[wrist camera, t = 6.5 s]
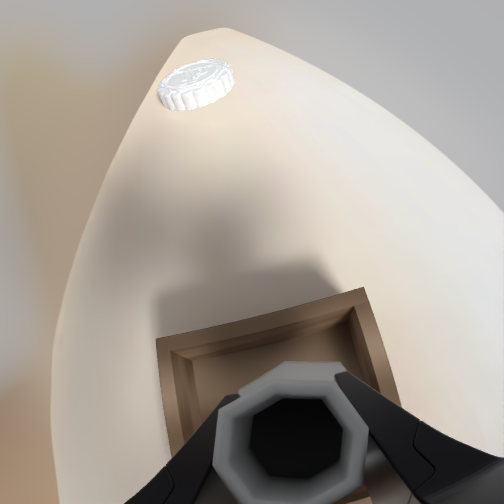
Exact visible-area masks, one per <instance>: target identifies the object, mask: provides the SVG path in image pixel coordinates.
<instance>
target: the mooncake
mask: <svg viewBox="0 0 504 504" xmlns="http://www.w3.org/2000/svg"><path fill="white" fill-rule="evenodd" d="M234 84H235V81H234V75H233V72H232V68H231V65H230V64H228V63H227V62H226V61H221V60H220V59H208V60H206V59H203V60H200V61H197V62H194V63H190V64H186V65H183V66H181V67H180V68H178V69H175V70H173V71H172V72H171V73H170V74H169V75H168V76H166V77H165V78H164V79H163V80H162V81H161V82H160V83H159V87H158V89H157V91H158V93H159V96H160V98H161V100H162V102H163V104H164V107H165V108H169V109H170V110H172V111H173V110H177V111H183V110H193V109H195V108H197V107H204V106H206V105H207V104H208V103H213V102H215V101H217V100H218V99H219V98H221V97H224V96H225V95H226V94H227V92H229V91H230V90H232V86H233V85H234Z"/></svg>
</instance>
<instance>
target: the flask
mask: <svg viewBox="0 0 504 504" xmlns="http://www.w3.org/2000/svg"><path fill="white" fill-rule="evenodd" d="M343 371H347V370H346V369H345V368H344V366H343V365H342V363H341V362H308V361H284V362H282V363H281V364H279V365H278V366H276V367H275V368H273V369H271V370H270V371H268V372H267V373H265V374H263V375H262V376H260V377H258V378H257V379H255V380H254V381H252V382H250V383H249V384H247V385H245V386H243V387H242V388H240V389H238V394H239V395H240V396H241V397H240V398H238V399H236V400H234V401H233V402H231V403H229V404H227V405H226V406H224V407H222V408H220V409H219V411H218V420H217V428H216V437H215V445H214V454H213V463H212V465H213V467H214V469H215V470H216V472H217V473H218V475H219V476H220V478H221V479H222V481H223V483H224V484H225V486H226V487H227V489H228V490H229V491H230V493H231V494H232V496H233V497H234V499H235V500H236V502H237V503H238V504H333V503H335V502H337V501H338V500H340V499H342V498H344V497H345V496H347V495H348V494H350V493H352V492H353V491H355V490H356V489H358V488H360V487H361V486H363V479H364V472H365V463H366V454H367V444H368V433H369V428H368V426H367V425H366V423H365V422H364V421H363V419H362V418H361V417H360V415H359V414H358V412H357V411H356V410H355V408H354V407H353V406H352V404H351V403H350V401H349V400H348V399H347V397H346V396H345V395H344V393H343V392H342V390H341V389H340V388H339V386H338V385H337V383H336V382H335V381H334V375H335V374H336V373H340V372H343ZM248 448H249V449H248Z"/></svg>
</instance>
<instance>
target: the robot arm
mask: <svg viewBox="0 0 504 504" xmlns="http://www.w3.org/2000/svg"><path fill="white" fill-rule="evenodd" d="M334 381H335V382H336V383H337V385H338V386H339V388H340V389H341V390H342V392H343V393H344V395H345V396H346V397H347V399H348V400H349V401H350V403H351V404H352V406H353V407H354V408H355V410H356V411H357V412H358V414H359V415H360V417H361V418H362V419H363V421H364V422H365V423H366V425H367V426H368V428H369V433H368V444H367V454H366V463H365V472H364V479H363V480H364V483H365V485H366V488H367V490H368V493H369V495H370V498H371V500H372V503H373V504H504V458H503V457H497V456H494V455H491V454H488V453H486V452H483V451H481V450H478V449H476V448H473V447H471V446H469V445H466V444H464V443H462V442H459V441H457V440H455V439H453V438H451V437H449V436H447V435H445V434H443V433H441V432H439V431H438V430H436V429H434V428H433V427H431V426H429V425H428V424H426V423H425V422H423V421H420V420H419V419H418V418H417V417H415V416H414V415H412V414H410V413H409V412H407V411H406V410H404V409H403V408H401V407H400V406H398V405H397V404H395V403H394V402H392V401H391V400H389V399H388V398H386V397H385V396H383V395H382V394H380V393H379V392H377V391H376V390H375V389H373V388H372V387H370V386H369V385H367V384H366V383H364V382H363V381H361V380H360V379H358V378H357V377H356V376H354V375H353V374H351V373H350V372H348V371H343V372H340V373H336V374H335V375H334ZM240 397H241V396H240V395H239V394H237V393H236V394H229V395H226V396H225V397H224V398H223V399H222V400H221V401H220V403H219V404H218V405H217V406H216V408H215V409H214V410H213V411H212V412H211V414H210V415H209V416H208V417H207V418H206V420H205V421H204V422H203V423H202V424H201V425H200V427H199V428H198V429H197V430H196V431H195V432H194V434H193V435H192V436H191V437H190V438H189V439H188V440H187V442H186V443H185V444H184V445H183V446H182V447H181V448H180V450H179V451H178V452H177V453H176V454H175V455H174V456H173V457H172V459H171V460H170V461H169V462H168V463H167V464H166V466H164V467H163V468H162V469H161V470H160V472H159V473H158V474H157V475H156V476H155V477H154V478H153V479H152V480H151V481H150V482H149V483H148V484H147V485H146V486H144V487H143V488H142V489H141V490H140V491H139V492H138V493H136V494H135V495H134V496H133V497H132V498H130V499H129V500H128V501H127V502H125V503H124V504H238V503H237V502H236V500H235V499H234V497H233V496H232V494H231V493H230V491H229V490H228V489H227V487H226V486H225V484H224V483H223V481H222V479H221V478H220V476H219V475H218V473H217V472H216V470H215V469H214V467H213V465H212V463H213V454H214V445H215V437H216V428H217V420H218V411H219V409H220V408H222V407H224V406H226V405H227V404H229V403H231V402H233V401H234V400H236V399H238V398H240ZM248 449H249V448H248Z"/></svg>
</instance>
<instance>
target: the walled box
mask: <svg viewBox="0 0 504 504" xmlns="http://www.w3.org/2000/svg"><path fill="white" fill-rule="evenodd" d="M156 348H157V358H158V368H159V376H160V384H161V392H162V400H163V407H164V413H165V420H166V426H167V432H168V438H169V443H170V449H171V454H172V457H173V456H174V455H175V454H176V453H177V452H178V451H179V450H180V448H181V447H182V446H183V445H184V444H185V443H186V442H187V440H188V439H189V438H190V437H191V436H192V435H193V434H194V432H195V431H196V430H197V429H198V428H199V427H200V425H201V424H202V423H203V422H204V421H205V420H206V418H207V417H208V416H209V415H210V414H211V412H212V411H213V410H214V409H215V408H216V406H217V405H218V404H219V403H220V401H221V400H222V399H223V398H224V397H225V396H226V395H229V394H236V393H237V394H238V389H240V388H242V387H243V386H245V385H247V384H249V383H250V382H252V381H254V380H255V379H257V378H258V377H260V376H262V375H263V374H265V373H267V372H268V371H270V370H271V369H273V368H275V367H276V366H278V365H279V364H281V363H282V362H284V361H308V362H341V363H342V365H343V366H344V368H345V369H346V370H347V371H348V372H350V373H351V374H353V375H354V376H356V377H357V378H358V379H360V380H361V381H363V382H364V383H366V384H367V385H369V386H370V387H372V388H373V389H375V390H376V391H377V392H379V393H380V394H382V395H383V396H385V397H386V398H388V399H389V400H391V401H392V402H394V403H395V404H397V405H398V406H400V407H401V403H400V399H399V395H398V392H397V388H396V384H395V381H394V377H393V374H392V371H391V367H390V364H389V360H388V357H387V354H386V351H385V348H384V344H383V341H382V338H381V335H380V332H379V329H378V326H377V323H376V320H375V317H374V314H373V311H372V309H371V306H370V303H369V300H368V297H367V295H366V292H365V289H364V287H361V288H358V289H354V290H351V291H348V292H345V293H341V294H338V295H334V296H331V297H327V298H324V299H320V300H317V301H313V302H310V303H306V304H303V305H299V306H295V307H291V308H288V309H284V310H280V311H276V312H272V313H268V314H265V315H261V316H257V317H253V318H248V319H244V320H240V321H236V322H232V323H227V324H223V325H219V326H214V327H210V328H205V329H201V330H196V331H192V332H187V333H182V334H177V335H172V336H167V337H162V338H157V339H156ZM401 408H402V407H401ZM333 504H373V503H372V500H371V498H370V495H369V493H368V490H367V488H366V485H365V483H364V480H363V486H361V487H360V488H358V489H356V490H355V491H353V492H352V493H350V494H348V495H347V496H345V497H344V498H342V499H340V500H338V501H337V502H335V503H333Z"/></svg>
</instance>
